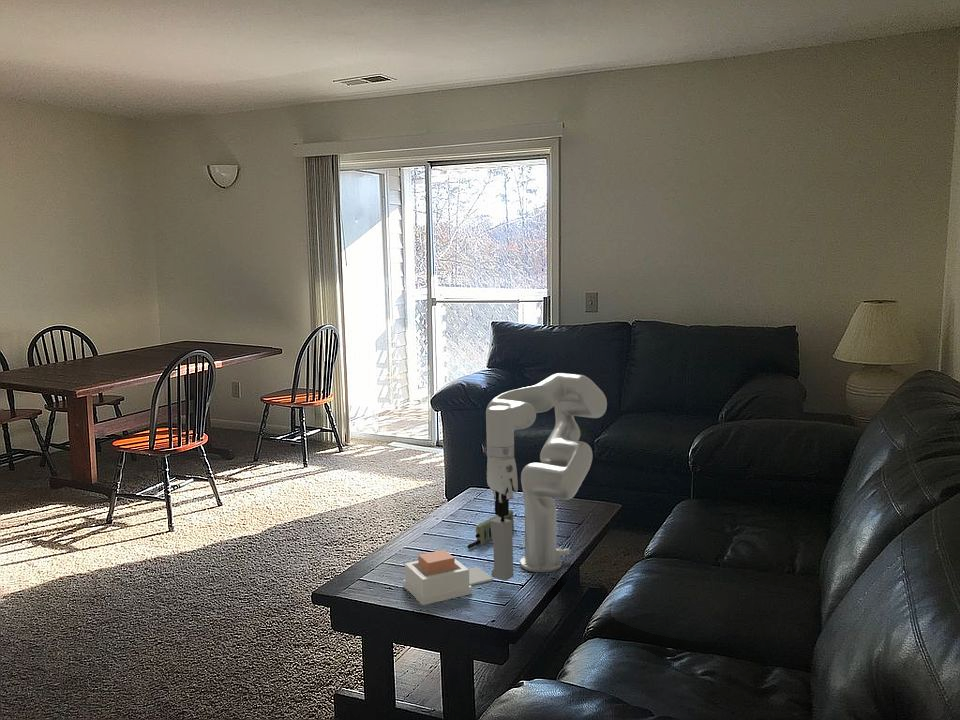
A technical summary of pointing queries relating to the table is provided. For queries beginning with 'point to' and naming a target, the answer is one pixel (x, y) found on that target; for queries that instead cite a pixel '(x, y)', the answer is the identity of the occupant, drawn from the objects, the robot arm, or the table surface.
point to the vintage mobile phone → (502, 548)
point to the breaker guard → (436, 583)
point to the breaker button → (436, 561)
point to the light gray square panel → (478, 576)
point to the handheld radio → (487, 530)
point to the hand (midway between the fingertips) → (501, 514)
